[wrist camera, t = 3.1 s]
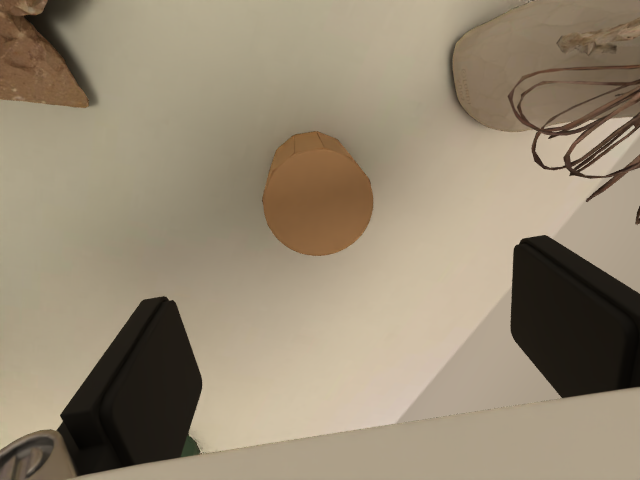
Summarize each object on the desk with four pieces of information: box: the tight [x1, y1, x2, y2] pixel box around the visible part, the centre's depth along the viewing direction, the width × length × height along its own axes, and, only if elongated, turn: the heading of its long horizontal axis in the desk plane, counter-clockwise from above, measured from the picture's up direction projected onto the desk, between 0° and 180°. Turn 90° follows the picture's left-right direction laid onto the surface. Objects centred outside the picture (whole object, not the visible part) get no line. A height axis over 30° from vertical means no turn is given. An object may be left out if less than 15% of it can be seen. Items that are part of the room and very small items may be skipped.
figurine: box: [452, 0, 640, 224], centre depth 14 cm, size 10×10×20 cm
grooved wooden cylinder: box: [262, 131, 373, 256], centre depth 22 cm, size 5×5×7 cm
